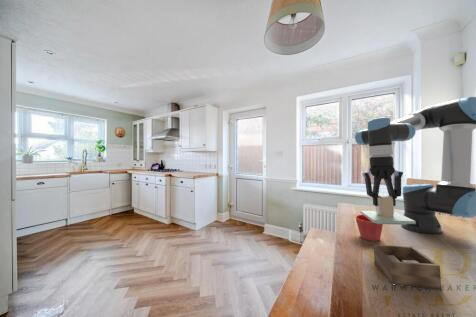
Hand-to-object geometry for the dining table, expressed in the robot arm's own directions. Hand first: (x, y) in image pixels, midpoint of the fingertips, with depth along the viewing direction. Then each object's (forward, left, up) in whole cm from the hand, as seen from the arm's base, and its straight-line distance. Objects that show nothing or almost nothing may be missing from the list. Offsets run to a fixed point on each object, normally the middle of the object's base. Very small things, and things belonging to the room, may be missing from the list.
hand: (384, 213), depth 74 cm
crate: (+2, +14, -16) cm, 22 cm away
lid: (0, 0, -2) cm, 2 cm away
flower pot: (0, -16, -17) cm, 23 cm away
